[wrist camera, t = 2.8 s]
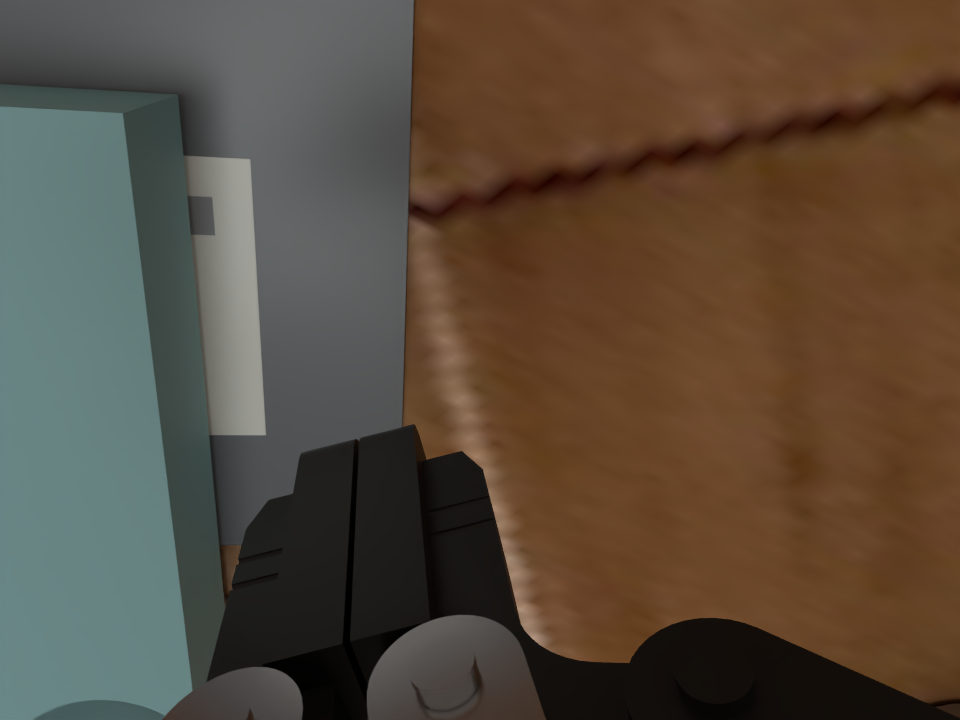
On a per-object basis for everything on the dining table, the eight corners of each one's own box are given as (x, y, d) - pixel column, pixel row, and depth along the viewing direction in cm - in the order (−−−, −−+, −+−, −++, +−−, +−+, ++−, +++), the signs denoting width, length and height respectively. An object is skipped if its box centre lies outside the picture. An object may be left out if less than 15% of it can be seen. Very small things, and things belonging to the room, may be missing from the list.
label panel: (434, -761, 13) (435, -776, 13) (398, 539, 24) (399, 543, 24) (-638, -979, 11) (-660, -999, 11) (-138, 545, 23) (-143, 551, 22)
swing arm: (177, 94, 18) (122, 113, 14) (233, 707, 26) (208, 819, 22) (-51, 80, 17) (-171, 97, 13) (80, 713, 25) (27, 830, 22)
